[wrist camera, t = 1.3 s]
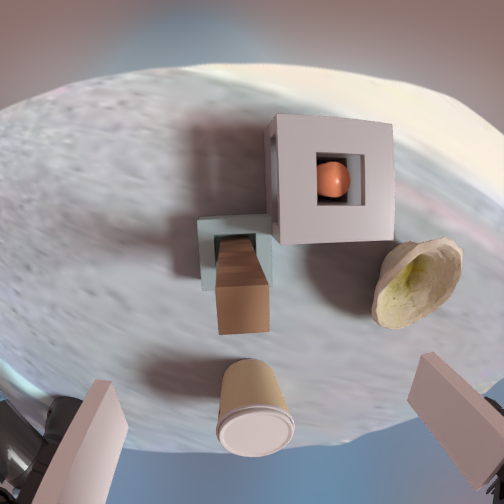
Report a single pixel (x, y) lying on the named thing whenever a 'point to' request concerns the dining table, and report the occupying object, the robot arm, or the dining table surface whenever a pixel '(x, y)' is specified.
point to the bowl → (415, 281)
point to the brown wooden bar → (240, 288)
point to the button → (332, 179)
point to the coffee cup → (252, 411)
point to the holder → (233, 226)
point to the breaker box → (305, 179)
